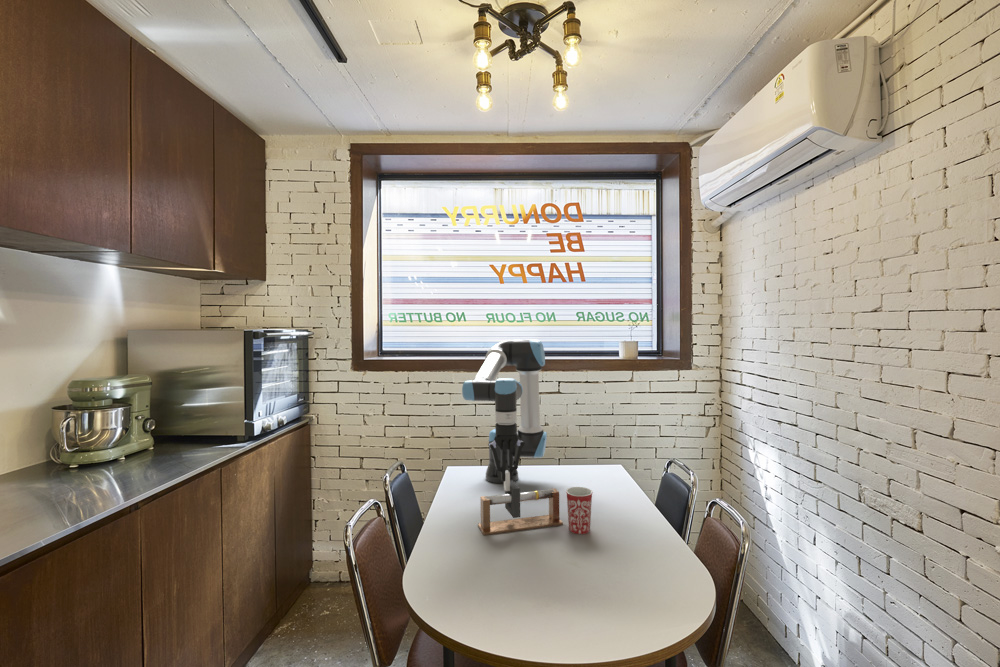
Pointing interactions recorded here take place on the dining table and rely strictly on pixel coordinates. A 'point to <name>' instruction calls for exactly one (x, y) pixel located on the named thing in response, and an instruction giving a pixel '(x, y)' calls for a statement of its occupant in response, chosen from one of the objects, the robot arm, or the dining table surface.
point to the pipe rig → (519, 523)
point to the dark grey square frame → (513, 500)
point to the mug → (579, 509)
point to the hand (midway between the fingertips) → (506, 489)
